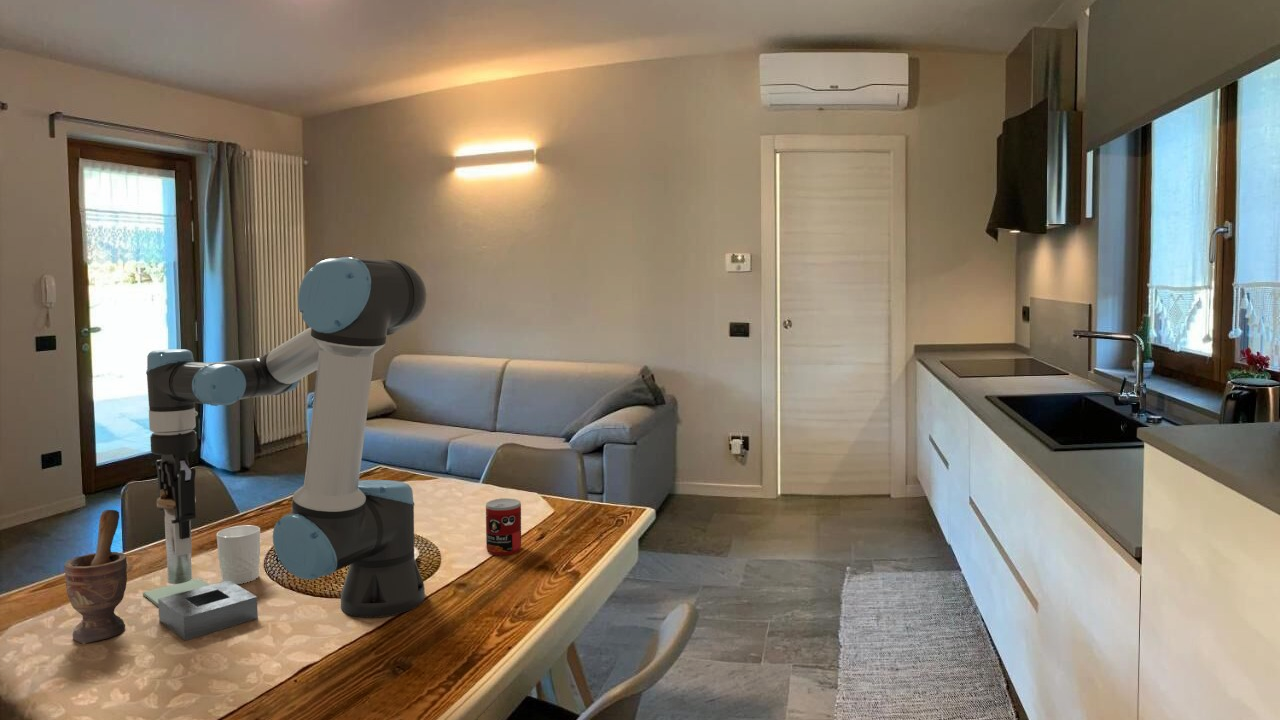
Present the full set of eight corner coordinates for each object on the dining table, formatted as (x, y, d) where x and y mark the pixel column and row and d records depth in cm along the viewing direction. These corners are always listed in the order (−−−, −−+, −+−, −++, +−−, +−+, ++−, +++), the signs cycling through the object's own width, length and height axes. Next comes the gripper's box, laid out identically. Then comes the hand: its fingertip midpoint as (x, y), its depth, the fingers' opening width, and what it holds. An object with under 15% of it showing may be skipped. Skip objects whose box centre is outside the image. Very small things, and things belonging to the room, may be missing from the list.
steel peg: (205, 573, 154) (201, 485, 152) (189, 586, 148) (184, 493, 146) (171, 574, 153) (167, 485, 152) (153, 586, 147) (149, 494, 145)
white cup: (244, 587, 154) (242, 538, 154) (209, 584, 156) (207, 535, 155) (270, 573, 162) (268, 526, 161) (237, 570, 164) (235, 524, 163)
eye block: (257, 618, 140) (256, 596, 140) (184, 640, 131) (183, 617, 131) (230, 600, 148) (229, 580, 148) (159, 620, 139) (158, 598, 139)
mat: (219, 593, 151) (219, 590, 151) (161, 609, 144) (161, 606, 144) (199, 580, 158) (199, 577, 158) (143, 595, 150) (142, 592, 150)
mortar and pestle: (71, 623, 138) (64, 512, 136) (129, 612, 142) (124, 505, 140) (67, 649, 128) (60, 530, 126) (130, 636, 133) (124, 521, 131)
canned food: (479, 553, 175) (479, 505, 174) (498, 542, 183) (498, 496, 182) (509, 558, 173) (508, 509, 172) (527, 547, 180) (527, 500, 179)
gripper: (212, 434, 145) (217, 556, 147) (178, 423, 156) (183, 537, 158) (167, 440, 139) (173, 567, 142) (135, 428, 151) (141, 546, 153)
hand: (178, 551), depth 150 cm, fingers closed on steel peg, 4 cm apart
